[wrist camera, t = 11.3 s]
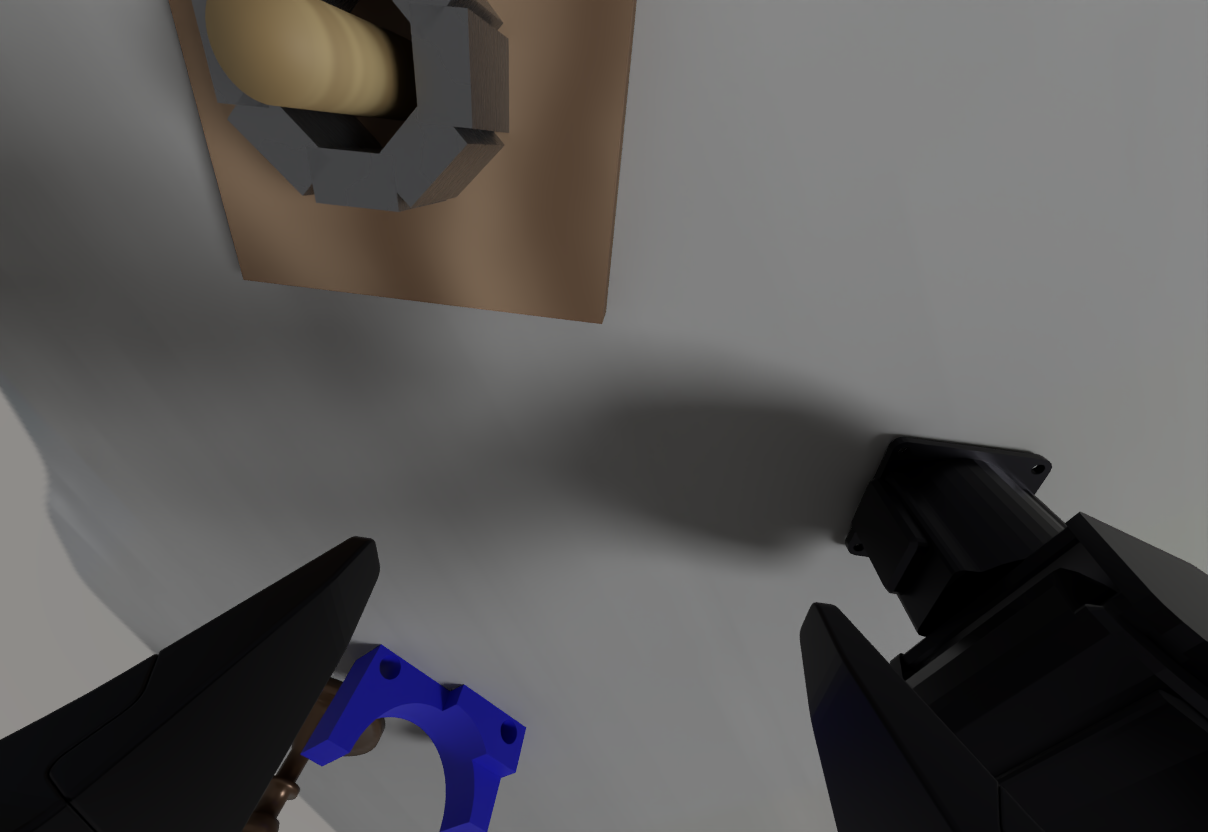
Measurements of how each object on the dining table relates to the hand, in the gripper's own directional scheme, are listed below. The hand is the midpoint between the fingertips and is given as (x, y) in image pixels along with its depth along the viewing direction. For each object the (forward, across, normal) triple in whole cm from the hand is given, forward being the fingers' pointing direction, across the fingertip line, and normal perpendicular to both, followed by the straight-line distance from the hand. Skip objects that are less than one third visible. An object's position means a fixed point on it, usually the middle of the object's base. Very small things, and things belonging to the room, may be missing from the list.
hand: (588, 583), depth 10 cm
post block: (+12, +8, -9) cm, 17 cm away
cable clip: (+12, +10, +27) cm, 31 cm away
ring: (+10, +8, -9) cm, 16 cm away
